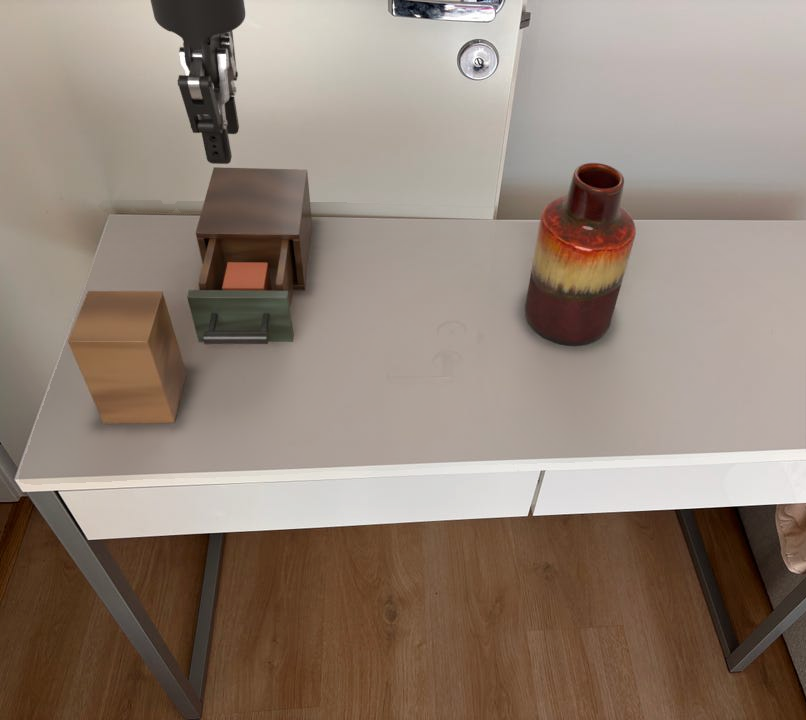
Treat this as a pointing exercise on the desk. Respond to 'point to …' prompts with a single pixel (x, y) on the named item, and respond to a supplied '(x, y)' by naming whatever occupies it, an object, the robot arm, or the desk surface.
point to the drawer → (244, 294)
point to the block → (247, 276)
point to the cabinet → (259, 210)
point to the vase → (580, 258)
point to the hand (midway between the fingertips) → (223, 145)
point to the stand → (129, 356)
